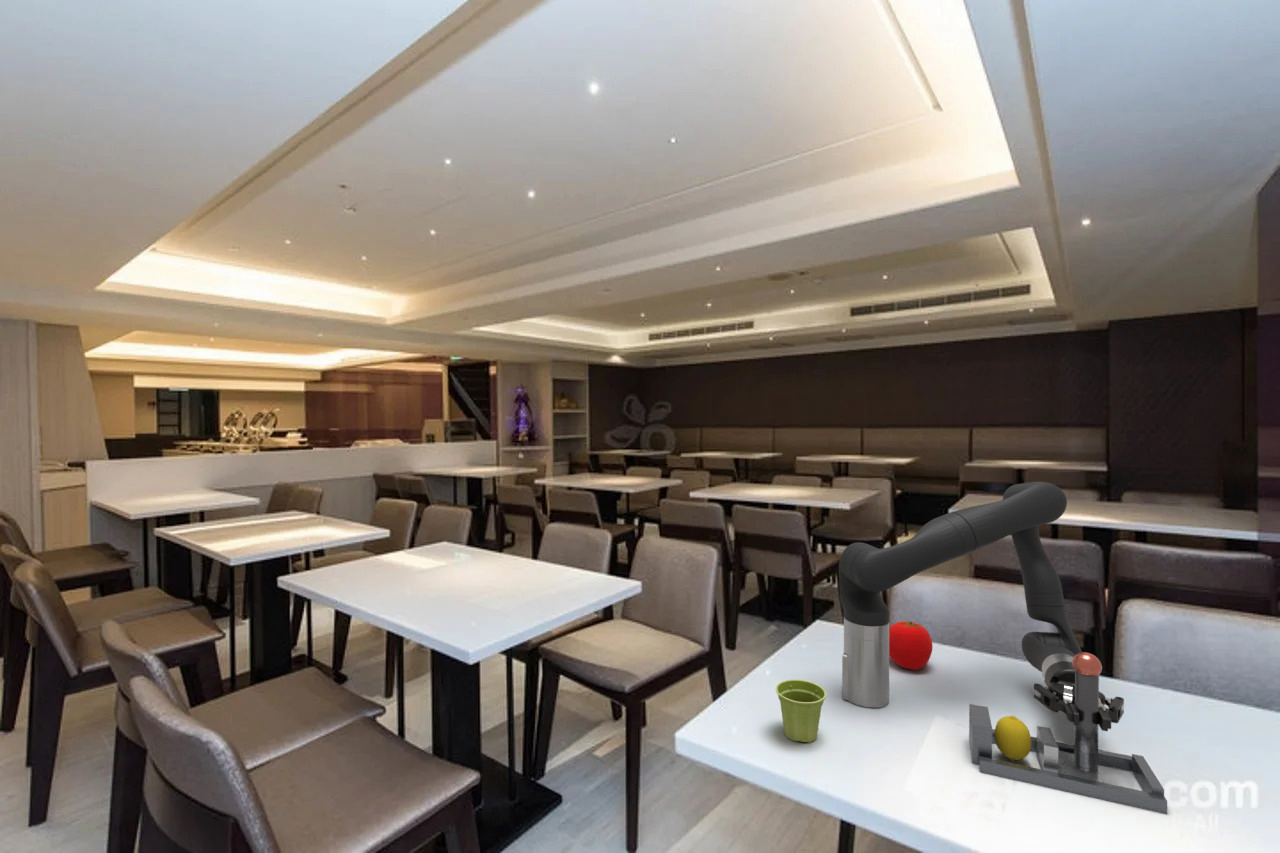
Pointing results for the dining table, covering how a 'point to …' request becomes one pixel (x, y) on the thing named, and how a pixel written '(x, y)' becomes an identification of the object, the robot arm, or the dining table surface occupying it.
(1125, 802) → the frame
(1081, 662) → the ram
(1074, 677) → the robot arm
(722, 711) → the dining table surface
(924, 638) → the tomato
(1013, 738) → the lemon
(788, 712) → the plant pot
